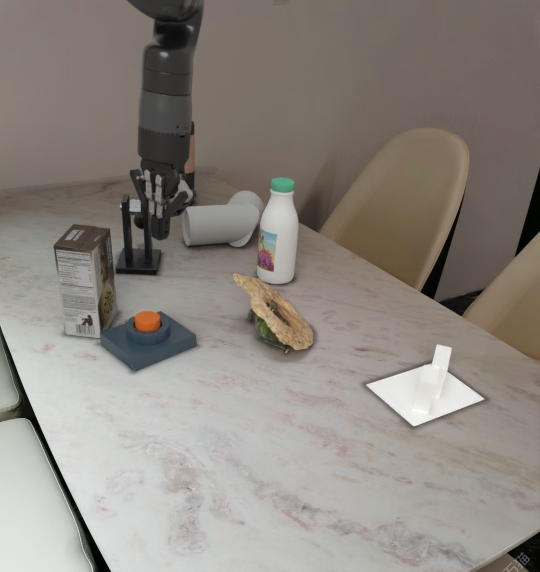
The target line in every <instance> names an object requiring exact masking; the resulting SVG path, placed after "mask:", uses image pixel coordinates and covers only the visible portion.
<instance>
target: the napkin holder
mask: <svg viewBox="0 0 540 572" xmlns="http://www.w3.org/2000/svg"><path fill="white" fill-rule="evenodd" d="M452 351H453V348H452V347H451V346H446V345H443V344H442V345H441V344H436V347H435V350H434V354H433V356H432V357H433V358H432V362H431V363H428V364H423V365H422V366H419V367H417V368H413V369H410V370H407V371H404V372H401V373H398V374H395V375H391V376H389V377H385V378H382V379H378V380H377V381H373V382H370V383H367V384H365V386H366V387H367V388H368V389H370V390H371V391H372V392H373V393H374V394H375V395H376V396H378V397H379V398H380V399H381V400H382V401H383V402H384V403H386V404H387V405H388V406H389V407H390V408H392V410H394V411H395V412H396V413H397V414H398V415H399V416H401V417H402V418H403V419H404V420H406V421H407V422H408V424H410V425H411V426H413V427H416V426H419V425H421V424H424V423H427V422H430V421H432V420H435V419H437V418H439V417H443V416H446V415H448V414H450V413H453V412H456V411H458V410H461V409H463V408H466V407H468V406H471V405H474V404H477V403H479V402H481V401H484V400H485V398H484V397H483V396H481V395H480V394H479V393H477V392H476V391H475V390H473V389H472V388H470V387H469V386H468V385H466V384H465V383H464V382H462V380H459V379H458V378H457V377H456V376H454V375H453V374H451V373H450V372H448V370H449V365H450V359H451V355H452Z"/></svg>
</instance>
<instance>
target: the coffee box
mask: <svg viewBox="0 0 540 572" xmlns="http://www.w3.org/2000/svg"><path fill="white" fill-rule="evenodd" d="M53 253H54V260H55V267H56V274H57V280H58V287H59V293H60V303H61V308H62V309H61V310H62V317H63V323H64V324H63V325H64V330H65V335H68V336H76V337H85V338H94V339H100V332H102V331H105V330H108V329H109V327H110V325H111V324H112V322H113V320H114V319H115V317H116V316H117V314H118V303H117V290H116V289H117V288H116V280H115V279H116V278H115V267H114V258H113V257H114V256H113V246H112V234H111V228H110V227H99V226H96V225H89V224H79V223H73V224H72V225H71V226H70V227H69V228H68V229H67V230H66V231H65V232H64V233H63V235H62V236H60V238H59V239H58V240H57V241H56V242H54V244H53Z"/></svg>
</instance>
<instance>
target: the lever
mask: <svg viewBox="0 0 540 572" xmlns="http://www.w3.org/2000/svg"><path fill="white" fill-rule="evenodd" d="M129 211H130V215H131V216H134V217H133V224H134V226H135V227H136V228H137V229H139V230H144V227H143V207H142V204H141V201H140V199H133V198H130V206H129Z"/></svg>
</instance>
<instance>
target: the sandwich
mask: <svg viewBox="0 0 540 572" xmlns="http://www.w3.org/2000/svg"><path fill="white" fill-rule="evenodd" d="M232 276H233V280H234V282H235V283H236V286H238V287H240V288H242V289H244V291H245V292H246V293H247V295H248V296H249V298H250V300H249V302H250V307H251V308H250V309H249V311H248V314H247V318H248V320H249V321H250V322H252V320H253V318H254V328H255V331H256V334H257V335H258V336H259V337H260V338H261V339H263V341H264V342H265V343H267V344H270V345H272V346H275V347H277V348H280V349H282V350H284V352H283V353H284V354H287V353H288V352H289V351H290V350H289V348H287V346H286V345H288V346H290V347H291V348H293V350H294V351H300V350H308V349H309V347H310V346H313V343H314V333H313V329H312V328H311V327H310V325H309V323H308V322H307V320H305V318H304V317H303V316H302V315H301V313H300V312H299V311H298V309H296V307H295V306H294V304H292V302H290V301H289V300H288V299H287V298H285V296H283V294H281V293H280V292H279V291H277V290H276V289H275V288H274V287H272V286H271V285H270V284H269V283H267V282H264V281H262V280H260V279H259V278H258V277H254V276H251V275H242V274H240V273H237V272H234V273H233V275H232Z"/></svg>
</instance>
